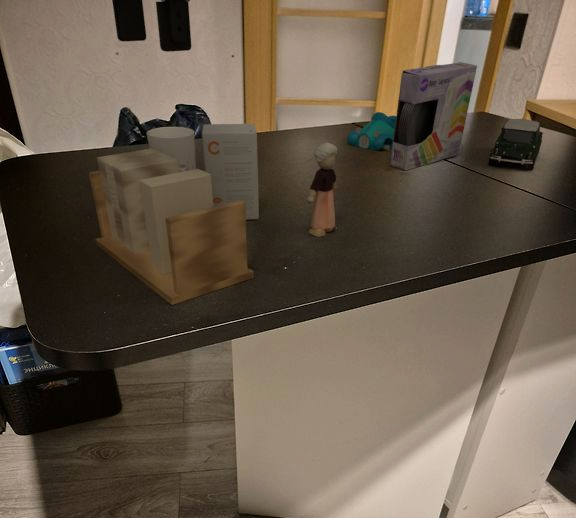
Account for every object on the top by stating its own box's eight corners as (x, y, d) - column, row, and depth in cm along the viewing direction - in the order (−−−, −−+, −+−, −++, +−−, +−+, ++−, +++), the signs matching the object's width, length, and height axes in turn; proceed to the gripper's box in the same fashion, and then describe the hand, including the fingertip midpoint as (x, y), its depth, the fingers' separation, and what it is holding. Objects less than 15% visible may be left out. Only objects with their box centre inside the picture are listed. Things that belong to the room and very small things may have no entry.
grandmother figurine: (326, 241, 80) (332, 150, 72) (302, 237, 81) (305, 147, 73) (341, 223, 86) (348, 138, 78) (318, 220, 87) (323, 135, 79)
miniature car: (538, 152, 122) (549, 114, 117) (531, 173, 109) (543, 130, 104) (497, 148, 125) (506, 109, 120) (485, 167, 112) (495, 125, 107)
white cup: (174, 182, 101) (168, 124, 95) (208, 190, 98) (203, 130, 92) (145, 194, 96) (136, 133, 89) (179, 202, 92) (173, 139, 86)
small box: (257, 206, 91) (255, 122, 83) (259, 220, 86) (257, 132, 78) (208, 207, 91) (202, 123, 83) (208, 221, 86) (201, 132, 78)
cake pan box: (402, 172, 108) (417, 71, 98) (384, 166, 111) (396, 68, 101) (460, 157, 118) (479, 64, 108) (442, 152, 121) (458, 61, 111)
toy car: (343, 144, 126) (345, 112, 122) (387, 131, 137) (390, 102, 132) (381, 152, 120) (385, 120, 116) (424, 139, 131) (429, 108, 127)
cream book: (163, 275, 68) (151, 186, 61) (151, 267, 70) (138, 179, 63) (216, 259, 72) (211, 174, 65) (205, 252, 74) (198, 168, 67)
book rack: (171, 305, 64) (158, 204, 57) (96, 245, 77) (77, 157, 70) (254, 278, 70) (251, 183, 63) (170, 227, 83) (160, 144, 76)
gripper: (48, -182, 50) (86, 38, 60) (132, -217, 39) (160, 57, 50) (125, -169, 54) (147, 36, 64) (220, -198, 43) (228, 53, 53)
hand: (153, 45), depth 57 cm, fingers open, 9 cm apart
